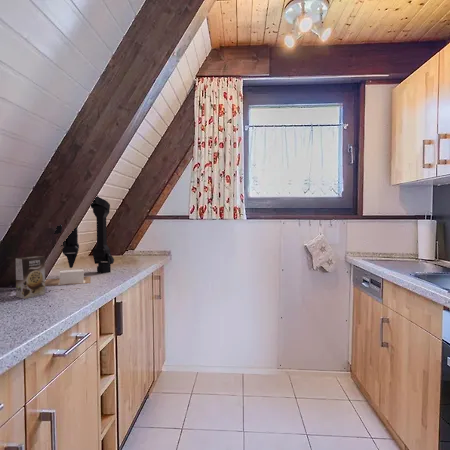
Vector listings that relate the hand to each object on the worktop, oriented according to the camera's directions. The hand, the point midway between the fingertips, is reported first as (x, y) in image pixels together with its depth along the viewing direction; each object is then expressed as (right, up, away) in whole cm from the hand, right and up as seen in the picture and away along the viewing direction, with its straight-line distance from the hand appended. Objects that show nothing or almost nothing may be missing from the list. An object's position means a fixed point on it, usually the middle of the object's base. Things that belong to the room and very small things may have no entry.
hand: (71, 266), depth 164 cm
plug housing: (0, -8, +1) cm, 8 cm away
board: (-3, -9, +4) cm, 10 cm away
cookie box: (-9, -10, -17) cm, 22 cm away
